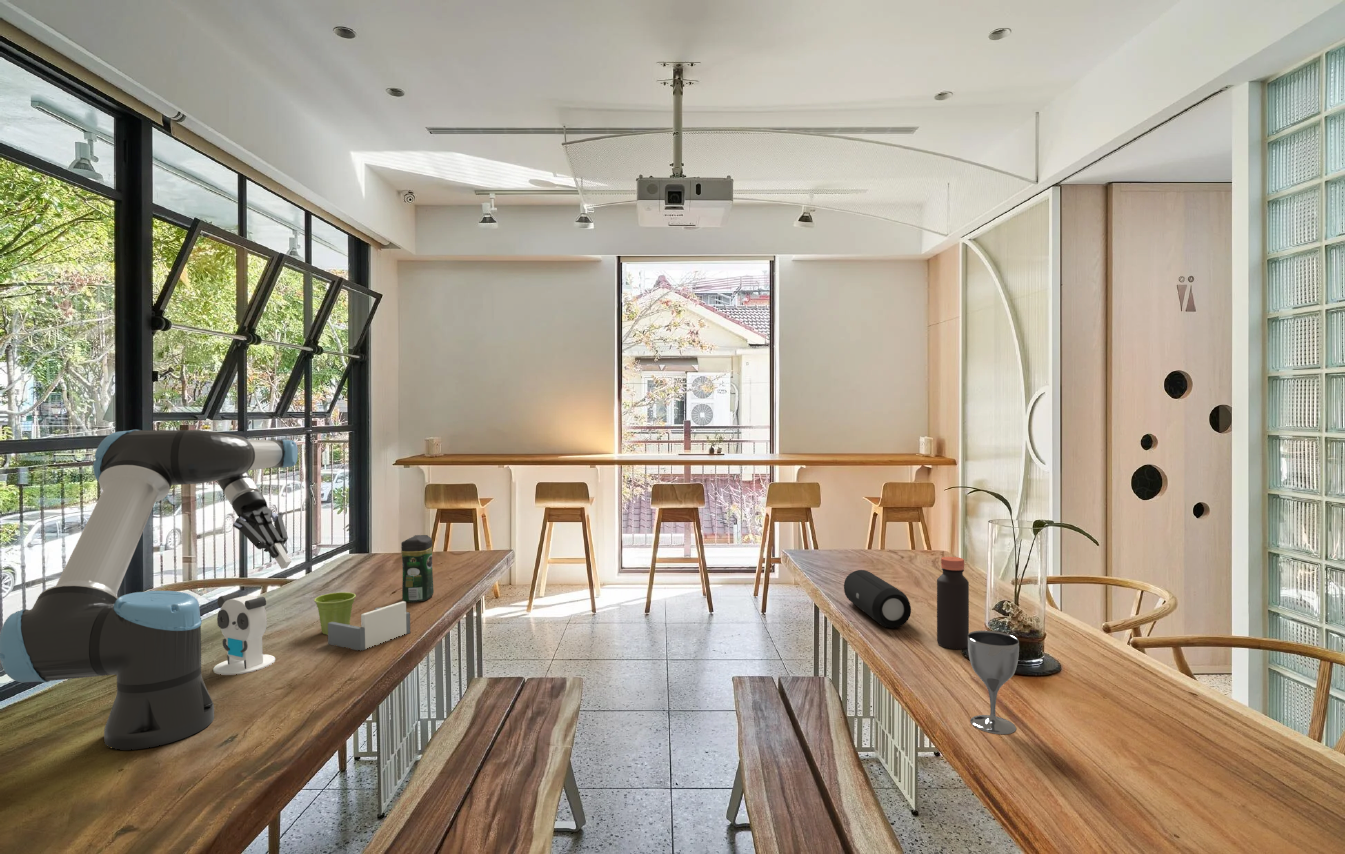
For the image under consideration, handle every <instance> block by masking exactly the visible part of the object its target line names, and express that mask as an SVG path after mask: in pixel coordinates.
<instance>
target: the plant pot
mask: <svg viewBox="0 0 1345 854" xmlns="http://www.w3.org/2000/svg"><path fill="white" fill-rule="evenodd" d="M356 597H357V595H356V594H355V593H354V592H349V591H342V592H331V593H326V594H325V593H324V594H322V595H318V596H317V597H315V598H314V600H313V601H314V603H316V607H317V609H318V616H319V622H320V628H321V629H320V630H321V633H322V634H323V635H326V636H328V623H330V622H337V623H342V624H347V625H351V624H350V623H351V616H352V610H353V609H352V608H353V604H354V602H355V599H356Z"/></svg>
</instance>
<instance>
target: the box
mask: <svg viewBox="0 0 1345 854" xmlns="http://www.w3.org/2000/svg"><path fill="white" fill-rule="evenodd" d="M360 622H361V625H360V626H356V625H351V624H350V625H347V624H342V623H337V622H330V623H328V635H327V644H328V645H331V646H335V645H337V646H336V647H340V648H344V647H346V649H349V648H351V649H350V650H353V651H354V650H355V651H358V650H360V651H359V652H362V651H364V650H367V648H368V649H370V648H372V646H373V647H375V646H374V645H376V646H378V645H381V644H383V642H384V643H386V642H389V641H391V640H390V639H392V640H394V638H395V639H397V638H399V637H398V636H400V637H402V635H403V636H405V635H408V634H411V612H408V611H407V601H403V600H402V601H399V602H396V603H393V604H389V605H387V606H383V607H380V606H379V607H374V610H371V611H367V612H364V613H362V614H360ZM404 634H405V635H404ZM396 637H397V638H396ZM385 641H386V642H385ZM380 643H381V644H380ZM347 647H348V648H347ZM369 647H370V648H369ZM361 650H362V651H361Z"/></svg>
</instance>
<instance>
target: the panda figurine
mask: <svg viewBox="0 0 1345 854" xmlns="http://www.w3.org/2000/svg"><path fill="white" fill-rule="evenodd" d="M216 603H217V606H218V607H219V608H220V610H218V612H217V619H216V620H217V621H216V622H217V626H218V628H219V629H220V632H221V633H222V635H223V637H224V638H223V639H222V647H223V649H224V650H225V651H226V658H227V660H224V661H222V662H219V663H218V664H215V666H214V667H213V673H214V674H217V675H220V674H221V675H222V676H235V675H236V674H237V675H242V674H249V673H253V672H257V671H260V670H262V669H265V667H266V668H268V667H270V666H271V665H273V664H274V663H275V662H276V657H275V656H273V655H271V654H268V653H267V654H264V653H263V635H264V634H265V633H266V630H267V626H268V617H267V611H266V607H265V606H267V599H266V597H264V596H260V597H257V596H254V595H243V596H240V594H239V593H238V592H234V593H233V592H232V593H230V594H229V593H228V594H225V595H220V596H219V597H218V598H217V602H216ZM272 663H273V664H272ZM269 665H270V666H269ZM256 670H257V671H256Z"/></svg>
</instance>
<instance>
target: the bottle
mask: <svg viewBox="0 0 1345 854" xmlns="http://www.w3.org/2000/svg"><path fill="white" fill-rule="evenodd" d="M940 567H941V570H942V574H940V575H939V576H938V578H936V643H937V644H938V645H939V646H940V647H942V648H945V649H949V650H965V649H968V634H969V633H970V629H969V628H970V626H969V625H970V624H969V623H970V615H969V614H970V613H969V611H970V610H969V609H970V605H969V604H970V595H969V594H970V585H969V584H970V583H969V581H968V579H967V578H966V577H965V576H964V575H963V574H964V572H965V559H964V558H961V557H957V556H943V557H941V560H940Z"/></svg>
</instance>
